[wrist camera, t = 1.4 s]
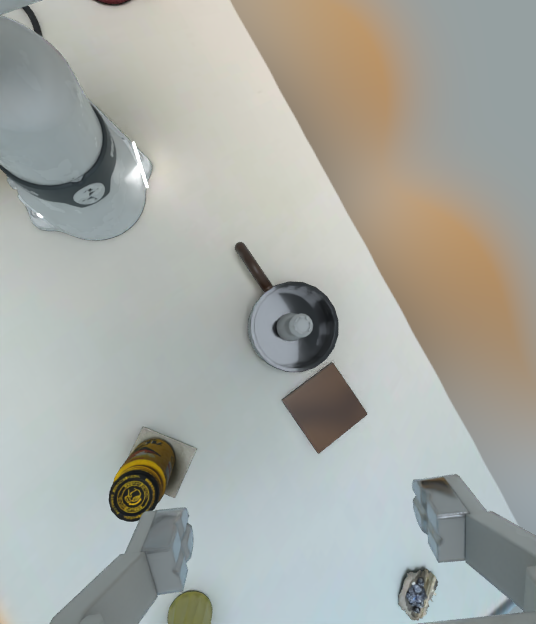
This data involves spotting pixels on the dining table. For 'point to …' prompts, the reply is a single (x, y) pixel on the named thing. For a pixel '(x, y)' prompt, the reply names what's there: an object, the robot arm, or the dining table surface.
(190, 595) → the vase
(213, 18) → the dining table surface
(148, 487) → the condiment
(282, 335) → the rook chess piece
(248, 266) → the pan handle
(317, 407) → the plate
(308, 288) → the pan
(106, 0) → the patty
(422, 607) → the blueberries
